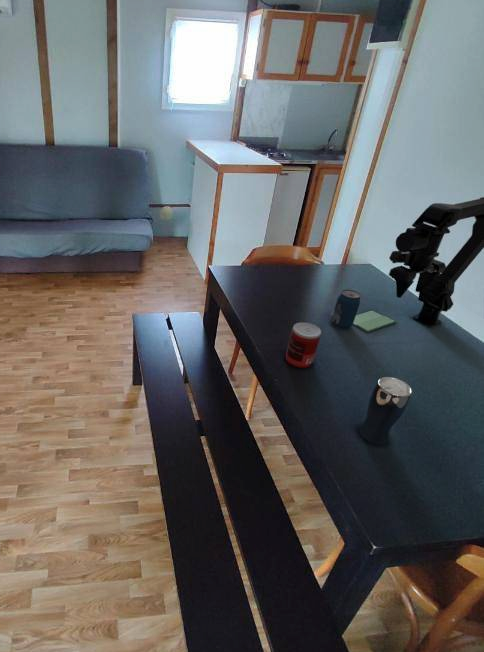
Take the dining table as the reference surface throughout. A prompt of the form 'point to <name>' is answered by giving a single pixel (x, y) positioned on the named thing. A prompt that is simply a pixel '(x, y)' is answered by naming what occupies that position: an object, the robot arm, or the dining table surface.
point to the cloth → (371, 321)
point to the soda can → (345, 309)
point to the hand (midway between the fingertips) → (407, 294)
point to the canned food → (303, 345)
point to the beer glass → (384, 409)
